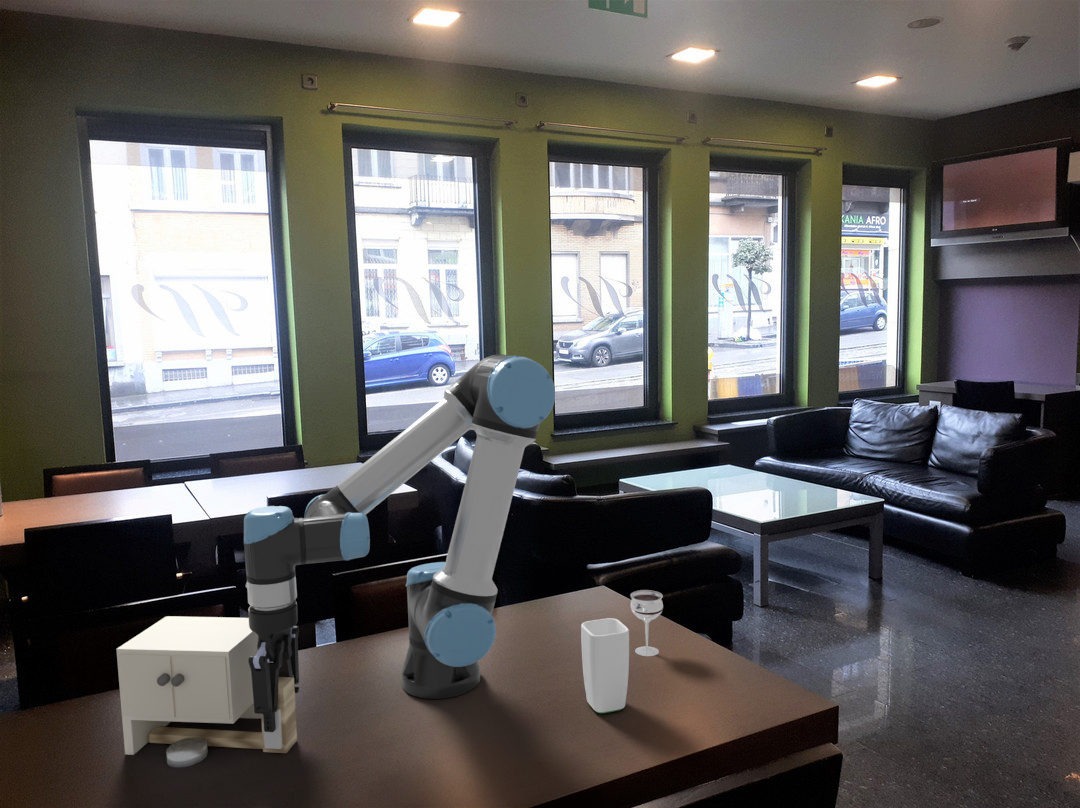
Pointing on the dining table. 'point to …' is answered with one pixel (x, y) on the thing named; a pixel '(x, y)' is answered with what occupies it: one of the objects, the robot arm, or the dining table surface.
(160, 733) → the l-shaped wooden piece
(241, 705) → the cabinet
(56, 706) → the dining table surface
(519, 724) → the dining table surface
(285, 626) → the robot arm
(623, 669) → the cup
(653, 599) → the wineglass
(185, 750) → the disc
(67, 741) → the dining table surface
